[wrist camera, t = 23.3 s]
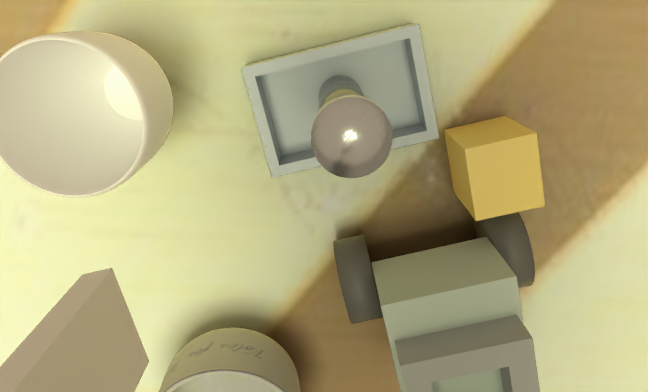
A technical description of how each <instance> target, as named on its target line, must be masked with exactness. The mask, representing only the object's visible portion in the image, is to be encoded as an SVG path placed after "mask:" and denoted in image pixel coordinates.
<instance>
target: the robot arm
mask: <svg viewBox="0 0 648 392" xmlns="http://www.w3.org/2000/svg"><path fill="white" fill-rule="evenodd" d="M148 362H149V360H148V357H147V355H146V352H145V350H144V347H143V345H142V342H141V340H140V337H139V335H138V332H137V330H136V327H135V325H134V322H133V320H132V317H131V315H130V312H129V309H128V307H127V304H126V302H125V299H124V297H123V294H122V292H121V289H120V287H119V284H118V282H117V279H116V277H115V274H114V272H113V269H112V268H109V269H105V270H101V271H96V272H92V273H87V274H83V275H82V276H81V277H80V278H79V279H78V280H77V281H76V283H75V284H74V285H73V286H72V287H71V288H70V289H69V290H68V292H67V293H66V294H65V295H64V296H63V297H62V298H61V299H60V300H59V302H58V303H57V304H56V305H55V306H54V307H53V308H52V309H51V311H50V312H49V313H48V314H47V315H46V316H45V317H44V318H43V320H42V321H41V322H40V323H39V324H38V325H37V326H36V327H35V329H34V330H33V331H32V332H31V333H30V334H29V335H28V336H27V338H26V339H25V340H24V341H23V342H22V343H21V344H20V345H19V346H18V348H17V349H16V350H15V351H14V352H13V353H12V354H11V355H10V357H9V358H8V359H7V360H6V361H5V362H4V363H3V364H2V366H1V367H0V392H134V391H135V389H136V387H137V385H138V383H139V381H140V379H141V377H142V375H143V373H144V371H145V368H146V366H147V364H148Z"/></svg>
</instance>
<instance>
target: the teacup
mask: <svg viewBox="0 0 648 392" xmlns="http://www.w3.org/2000/svg"><path fill="white" fill-rule="evenodd" d="M159 392H300V383H299V378H298V374H297V370H296V368H295V366H294V363H293V361H292V360H291V358H290V356H289V355H288V353H287V352H286V351H285V350H284V349H283V348H282V347H281V346H280V345H279V344H278V343H277V342H276V341H274V340H273V339H271V338H270V337H268V336H266V335H264V334H262V333H260V332H257V331H254V330H250V329H245V328H233V327H231V328H221V329H216V330H212V331H209V332H207V333H204V334H202V335H200V336H198V337H196V338H195V339H193V340H191V341H190V342H189V343H187V344H186V345H185V346H184V347H183V348H182V349H181V350H180V351H179V352H178V354H177V355H176V356H175V358H174V359H173V361H172V362H171V364H170V366H169V368H168V370H167V372H166V375H165V377H164V380H163V382H162V385H161V387H160V390H159Z"/></svg>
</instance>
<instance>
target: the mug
mask: <svg viewBox="0 0 648 392" xmlns="http://www.w3.org/2000/svg"><path fill="white" fill-rule="evenodd" d="M172 118H173V96H172V91H171V87H170V84H169V82H168V79H167V77H166V75H165V73H164V72H163V70H162V68H161V67H160V66H159V64H158V63H157V62H156V61H155V59H154V58H153V57H152V56H151V55H150V54H148V53H147V52H146V51H145V50H144V49H142V48H141V47H139V46H138V45H136V44H135V43H133V42H131V41H129V40H127V39H125V38H122V37H119V36H116V35H113V34H109V33H104V32H96V31H77V32H64V33H53V34H46V35H41V36H36V37H33V38H30V39H27V40H25V41H23V42H21V43H19V44H17V45H15V46H14V47H12V48H11V49H9V50H8V51H7V52H6V53H5V54H3V55H2V56H1V57H0V158H1V160H2V161H3V162H4V163H5V165H6V166H7V167H8V168H9V169H10V170H11V171H12V172H13V173H15V174H16V175H17V176H18V177H19V178H21V179H22V180H24V181H25V182H27V183H28V184H30V185H32V186H33V187H35V188H37V189H40V190H42V191H45V192H47V193H50V194H54V195H58V196H64V197H89V196H95V195H99V194H102V193H105V192H107V191H110V190H112V189H114V188H116V187H118V186H119V185H121V184H122V183H124V182H125V181H127V180H128V179H129V178H130V177H131V176H133V175H134V174H135V173H136V172H137V171H138V170H139V169H140V168H142V167H143V166H144V165H145V164H146V163H147V162H148V161H149V160H150V159H151V158H152V157H153V156H154V155H155V154H156V153H157V151H158V150H159V149H160V147H161V146H162V144H163V143H164V141H165V139H166V137H167V135H168V133H169V130H170V127H171V123H172Z"/></svg>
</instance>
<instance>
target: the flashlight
mask: <svg viewBox="0 0 648 392" xmlns="http://www.w3.org/2000/svg"><path fill="white" fill-rule="evenodd" d="M318 100H319V111H318V113H317V114H316V116H315V118H314V121H313V124H312V128H311V145H312V149H313V153H314V155H315V157H316V159H317V160H318V162H319V163H320V164H321V165H322V166H323V167H324V168H325V169H326V170H328V171H329V172H331V173H333V174H335V175H337V176H340V177H345V178H357V177H362V176H365V175H367V174H370V173H372V172H373V171H375V170H376V169H377V168H379V167H380V166H381V165H382V164H383V162H384V161H385V160H386V158H387V157H388V155H389V152H390V150H391V146H392V141H393V133H392V128H391V124H390V122H389V119H388V118H387V116H386V114H385V113H384V111H383V110H382V109H381V107H380V106H379V105H378V104H376V103H375V102H374V101H372V100H371V99H369V98H367V97H365V95H364V94H363V92H362V90H361V88H360V87H359V85H358V84H357V82H356V81H355V80H353V79H352V78H350V77H347V76H342V75H338V76H334V77H331V78H329V79H328V80H327V81H325V82H324V84H323V85H322V86H321V88H320V91H319V96H318Z"/></svg>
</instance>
